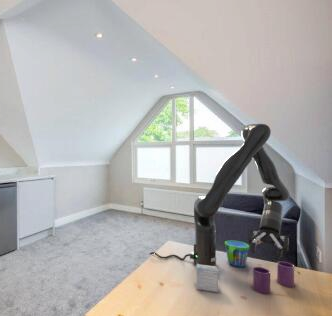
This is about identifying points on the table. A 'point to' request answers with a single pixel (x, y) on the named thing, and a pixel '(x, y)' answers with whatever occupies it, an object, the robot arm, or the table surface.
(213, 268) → the medicine box
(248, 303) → the table surface
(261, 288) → the plum cup
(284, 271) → the plum cup
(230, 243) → the snack cup
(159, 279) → the table surface
